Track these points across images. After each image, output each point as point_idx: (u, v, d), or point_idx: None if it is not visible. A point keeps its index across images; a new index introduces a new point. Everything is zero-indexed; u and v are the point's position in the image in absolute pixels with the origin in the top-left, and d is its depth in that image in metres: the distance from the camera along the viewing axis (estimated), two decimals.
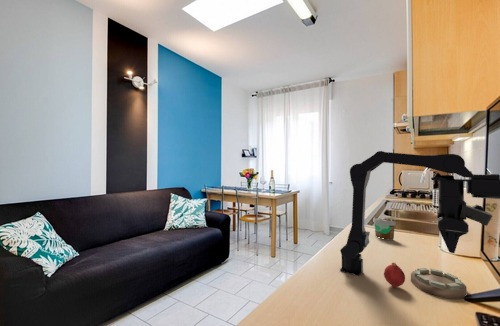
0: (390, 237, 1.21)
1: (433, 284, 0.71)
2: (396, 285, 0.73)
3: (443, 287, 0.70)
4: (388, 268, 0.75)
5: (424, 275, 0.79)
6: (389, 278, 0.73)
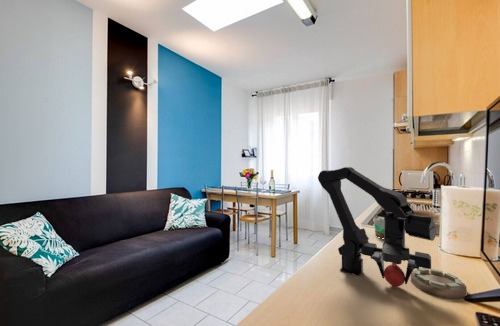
0: None
1: (433, 284, 0.71)
2: (396, 285, 0.73)
3: (443, 287, 0.70)
4: (388, 268, 0.75)
5: (424, 275, 0.79)
6: (389, 278, 0.73)
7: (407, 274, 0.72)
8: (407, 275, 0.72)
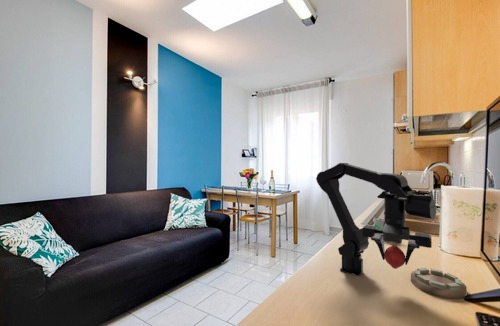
0: None
1: (433, 284, 0.71)
2: (396, 266, 0.73)
3: (443, 287, 0.70)
4: (388, 249, 0.75)
5: (424, 275, 0.79)
6: (390, 259, 0.73)
7: (407, 254, 0.72)
8: (407, 255, 0.72)
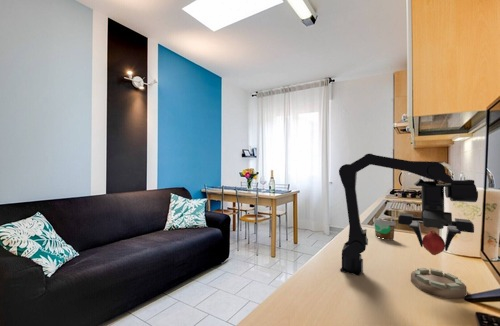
0: (390, 237, 1.21)
1: (433, 284, 0.71)
2: (436, 252, 0.73)
3: (443, 287, 0.70)
4: (427, 236, 0.75)
5: (424, 275, 0.79)
6: (429, 245, 0.73)
7: (448, 240, 0.72)
8: (448, 241, 0.72)
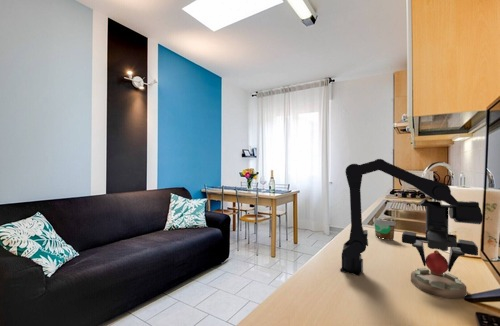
0: (390, 237, 1.21)
1: (433, 284, 0.71)
2: (439, 272, 0.74)
3: (443, 287, 0.70)
4: (430, 256, 0.75)
5: (424, 275, 0.79)
6: (433, 266, 0.74)
7: (451, 261, 0.72)
8: (451, 262, 0.72)
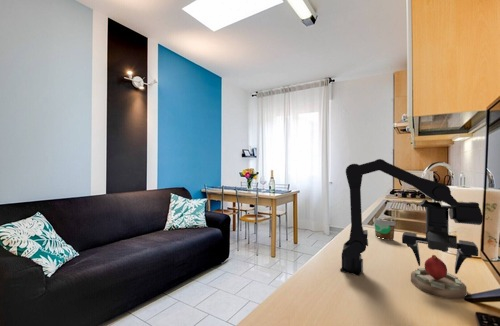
0: (390, 237, 1.21)
1: (433, 284, 0.71)
2: (439, 277, 0.74)
3: (443, 287, 0.70)
4: (429, 261, 0.76)
5: (424, 275, 0.79)
6: (432, 271, 0.74)
7: (458, 263, 0.71)
8: (458, 264, 0.71)
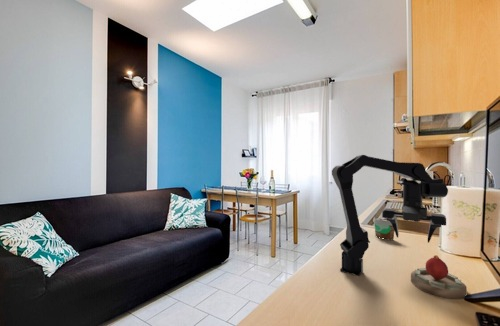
0: (390, 237, 1.21)
1: (433, 284, 0.71)
2: (440, 277, 0.74)
3: (443, 287, 0.70)
4: (430, 261, 0.75)
5: (424, 275, 0.79)
6: (433, 271, 0.74)
7: (430, 233, 0.81)
8: (430, 234, 0.81)
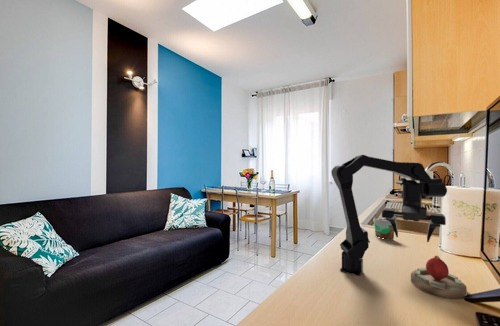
0: (390, 237, 1.21)
1: (433, 284, 0.71)
2: (440, 278, 0.74)
3: (443, 287, 0.70)
4: (431, 261, 0.75)
5: (424, 275, 0.79)
6: (433, 271, 0.74)
7: (429, 233, 0.81)
8: (429, 233, 0.81)
